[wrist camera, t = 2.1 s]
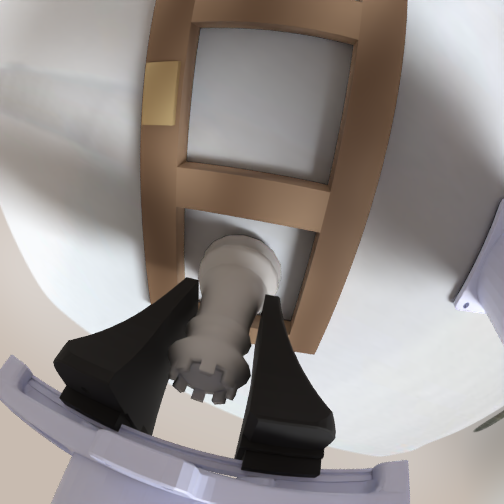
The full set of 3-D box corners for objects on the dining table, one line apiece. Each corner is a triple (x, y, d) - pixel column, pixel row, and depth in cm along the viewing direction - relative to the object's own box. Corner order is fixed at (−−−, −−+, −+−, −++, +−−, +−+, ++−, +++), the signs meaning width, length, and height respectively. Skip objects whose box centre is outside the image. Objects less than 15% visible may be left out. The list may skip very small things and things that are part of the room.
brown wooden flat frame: (396, -79, 3) (403, -90, 2) (314, 341, 18) (314, 358, 17) (197, -98, 4) (189, -109, 3) (160, 308, 19) (151, 322, 17)
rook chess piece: (290, 291, 16) (276, 416, 9) (220, 300, 17) (178, 411, 11) (270, 222, 14) (238, 344, 7) (193, 239, 15) (121, 346, 9)
